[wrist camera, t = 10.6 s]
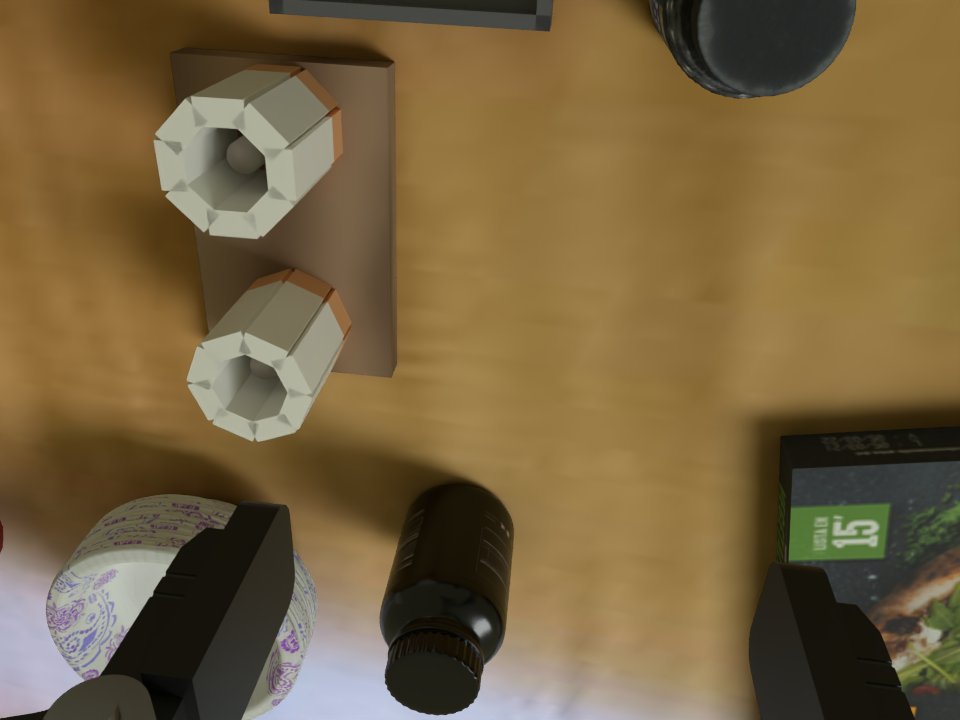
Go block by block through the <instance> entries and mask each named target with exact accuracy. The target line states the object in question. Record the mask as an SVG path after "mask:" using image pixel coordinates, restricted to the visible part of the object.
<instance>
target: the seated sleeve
mask: <svg viewBox="0 0 960 720" xmlns="http://www.w3.org/2000/svg"><path fill="white" fill-rule="evenodd" d="M331 287H332V285H329V284H327V283H325V282H323V281H321V280H319V279H317V278H314V277H312V276H310V275H308V274H306V273H304V272H302V271H300V270H297V269H295V271H294V272H293V271H292V269H287V270H284V271H281V272H278V273H275V274H271V275H268V276H265V277H262V278H259V279H257V280H256V281H255V282H253V284H252V285H251V286H250V287H249V288H248V289H247V290H246V292H245V293H244V294H243V295H242V296H241V297H240V298H239V300H238V301H237V302H236V303H235V304H234V305H233V306H232V307H231V309H230V310H229V311H228V312H227V313H226V314H225V315H224V317H223V318H222V319H221V320H220V321H219V322H218V323H217V325H216V326H215V327H214V328H213V329H212V330H211V331H210V332H209V334H208V335H207V336H206V337H205V338H204V339H203V340H202V342H201V343H200V344H199V345H198V346H197V349H196V352H195V355H194V358H193V361H192V364H191V368H190V371H189V374H188V377H187V381H189V384H188V385H187V386H188V387H189V389H190V391H191V392H192V394H193V396H194V397H195V399H196V401H197V402H198V404H199V406H200V407H201V409H202V411H203V412H204V414H205V416H206V417H207V419H208V420H212V419H214V422H213V424H214V425H216V426H218V427H220V428H223V429H225V430H227V431H230V432H232V433H234V434H236V435H239V436H241V437H243V438H246V439H248V440H250V441H252V442H253V440H254V438H256V440H257V441H258V442H260V441H264V440H268V439H272V438H276V437H280V436H284V435H288V434H292V433H295V432H296V430H297V429H298V430H299V428H300V427H301V425H302V423H303V421H304V419H305V417H306V416H307V414H308V412H309V410H310V408H311V407H312V405H313V403H314V401H315V399H316V397H317V396H318V394H319V392H320V390H321V388H322V386H323V385H324V383H325V381H326V379H327V377H328V375H329V374H330V372H331V370H332V368H333V366H334V365H335V363H336V361H337V359H338V357H339V355H340V353H341V351H342V348H343V346H344V344H345V341H346V339H347V337H348V335H349V332H350V330H351V328H352V327H351V326H350V325H351V323H352V322H351V320H350V318H349V316H348V314H347V312H346V310H345V308H344V306H343V304H342V301H341V299H340V297H339V295H338V293H337V291H336V289H335V290H332V291H330V290H331ZM252 358H254V359H256V360H258V361H260V362H262V363H265V364H267V365H269V366H271V367H274V369H275V370H276V372H277V374H278V375H277V376H276V377H275V378H273V379H270V380H265V379H261V378H259V377H257V376H256V375H255V374H254V373H253V372H252V370H251V367H250V361H251V359H252Z"/></svg>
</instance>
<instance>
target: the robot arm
mask: <svg viewBox="0 0 960 720" xmlns="http://www.w3.org/2000/svg"><path fill="white" fill-rule="evenodd" d="M294 583H295V565H294V554H293V544H292V533H291V523H290V513H289V509H288V507H287V506H286V505H281V504H272V503H263V502H254V501H245V500H244V501H241V502H240V503H239V504H238V506H237V507H236V509H235V510H234V512H233V514H232V516H231V517H230V519H229V521H228V522H227V524H226V526H225V528H224V529H217V528H208V527H206V528H205V529H204V530H202V531H201V532H200V533H199V534H197V535H196V536H195V537H194V538H192V539H191V540H190V541H188V542H187V543H186V544H185V545H183V546H182V547H181V548H180V550H179V551H178V553H177V555H176V556H175V558H174V559H173V561H172V563H171V564H170V566H169V567H168V569H167V570H166V575H165V577H162V578H161V580H160V582H159V583H158V585H157V586H156V588H155V589H154V591H153V596H152V597H149V599H148V601H147V602H146V604H145V605H144V607H143V608H142V610H141V612H140V613H139V615H138V616H137V618H136V620H135V621H134V623H133V624H132V626H131V627H130V629H129V631H128V632H127V634H126V635H125V637H124V639H123V640H122V642H121V643H120V645H119V647H118V648H117V650H116V651H115V653H114V654H113V656H112V658H111V659H110V661H109V662H108V664H107V666H106V667H105V669H104V670H103V671H102V673H101V674H100V676H99V677H95V678H92V679H89V680H86V681H84V682H82V683H79V684H78V685H76V686H74V687H73V688H71V689H69V690H68V691H67V692H65V693H64V694H63V695H62V696H60V697H59V698H58V699H57V700H56V701H55V702H54V703H53V705H52V706H51V707H50V708H49V709H48V710H45V711H41V712H36V713H32V714H25V715H19V716H13V717H7V718H0V720H242V717H243V715H244V713H245V710H246V708H247V706H248V703H249V701H250V698H251V696H252V694H253V691H254V689H255V687H256V684H257V682H258V680H259V677H260V675H261V672H262V670H263V668H264V665H265V663H266V661H267V658H268V656H269V654H270V651H271V649H272V647H273V644H274V642H275V639H276V637H277V635H278V632H279V630H280V628H281V625H282V623H283V621H284V618H285V616H286V614H287V611H288V609H289V606H290V603H291V599H292V595H293V590H294ZM749 662H750V668H751V673H752V678H753V683H754V687H755V692H756V697H757V702H758V706H759V711H760V716H761V720H915V717H914V715H913V712H912V710H911V707H910V705H909V702H908V700H907V697H906V695H905V692H902V685H901V682H900V680H899V677H898V675H897V672H896V670H895V668H894V667H892V660H891V657H890V655H889V652H888V650H887V647H886V645H885V642H884V640H883V637H882V635H881V632H880V631H879V630H878V629H877V628H876V627H875V625H874V624H873V623H872V622H871V621H870V620H869V619H868V617H867V616H866V615H865V614H864V613H863V612H862V611H861V609H860V608H859V607H858V606H857V605H855V604H847V603H838V602H837V601H836V599H835V596H834V593H833V590H832V587H831V585H830V582H829V579H828V576H827V574H826V572H825V570H824V569H823V568H821V567H814V566H805V565H797V564H788V563H779V562H773V563H772V564H771V566H770V568H769V570H768V573H767V576H766V580H765V583H764V586H763V589H762V593H761V596H760V599H759V603H758V606H757V609H756V613H755V616H754V619H753V623H752V626H751V630H750V637H749Z"/></svg>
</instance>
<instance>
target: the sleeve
mask: <svg viewBox="0 0 960 720" xmlns="http://www.w3.org/2000/svg"><path fill="white" fill-rule="evenodd" d="M337 105H338V103H337V102H336V101H335V99H334V98H333V97H332V96H331V95H330V94H329V93H328V92H327V91H326V90H325V89H324V88H323V87H322V86H321V85H320V84H319V82H318V81H317V80H316V79H315V78H314V77H313V76H312V75H311V74H310V73H309V72H308V71H307V70H304V71H302V72H301V67H299V66H283V65H267V64H256V65H254V66H251V67H249V68H247V69H245V70H243V71H241V72H239V73H237V74H235V75H233V76H230V77H228V78H226V79H224V80H222V81H220V82H218V83H216V84H214V85H212V86H210V87H208V88H206V89H204V90H202V91H200V92H198V93H196V94H194V95H191V96H189V97H187V98H185V99H184V101H183V102H182V103H181V104H180V105H179V106H178V108H177V109H176V110H175V111H174V112H173V113H172V115H171V116H170V117H169V118H168V119H167V121H166V122H165V123H164V124H163V125H162V126H161V128H160V129H159V130H158V131H157V132H156V133H155V134H156V135H157V136H158V138H156V139H155V140H154V146H155V152H156V158H157V164H158V170H159V176H160V183H161V189H162V190H164V191H169V192H168V194H167V195H166V196H165V197H166V198H167V199H169V200H170V201H171V202H172V203H173V204H174V205H175V206H176V207H177V208H178V209H179V210H180V211H181V212H182V213H184V214H185V215H186V216H187V217H188V218H189V219H190V220H191V221H192V222H193V223H194V224H195V225H196V226H197V227H199V228H200V229H201V230H202V231H203V232H205V231H206V230H207V229H208V228H209V233H210V235H214V236H226V237H239V238H251V239H258V238H259V237H260V236H262V237H264V236H265V235H266V234H267V233H268V232H269V231H270V230H271V229H272V228H273V227H274V226H275V225H276V224H277V223H278V222H279V221H280V220H281V219H282V218H283V217H284V216H285V215H286V214H287V213H288V212H289V211H290V210H291V209H292V208H293V207H294V206H295V205H296V204H297V203H298V202H299V201H300V200H301V199H302V198H303V197H304V196H305V195H306V193H307V192H308V191H309V190H310V189H311V188H312V187H313V186H314V185H315V184H316V183H317V182H318V181H319V180H320V179H321V178H322V177H323V176H324V175H325V174H326V173H327V172H328V171H329V170H330V169H331V168H332V167H333V166H334V165H335V163H336V162H337V161H338V160H339V159H340V158H341V157H340V155H341V154H342V153H343V145H342V123H341V109H334V108H335V107H336V106H337ZM243 135H244V136H245V137H246V138H247V139H248V140H249V141H250V142H251V143H252V144H253V145H254V146H255V147H256V148H257V149H258V150H259V151H260V152H261V153H262V154H263V155H264V156H265V162H266V163H264V164H263V165H262V166H261V167H259V168H258V169H257V170H256V171H255V172H253V173H251V174H241V173H238V172H236V171H235V170H234V169H233V168H232V167H231V166H230V165H229V163H228V161H227V156H226V153H227V149H228V147H229V145H230V144H231V143H233V142H234V141H236V140H237V139H239V138H240V137H242V136H243Z"/></svg>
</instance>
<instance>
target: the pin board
mask: <svg viewBox="0 0 960 720" xmlns="http://www.w3.org/2000/svg"><path fill="white" fill-rule="evenodd" d="M170 58H171V65H172V73H173V80H174V87H175V94H176V101H177V108H178V106H179V105H180V104H181V103H182V102H183V101H184V99H185V98H187V97H189V96H191V95H194V94H196V93H198V92H200V91H202V90H204V89H206V88H208V87H210V86H212V85H214V84H216V83H218V82H220V81H222V80H224V79H226V78H228V77H230V76H233V75H235V74H237V73H239V72H241V71H243V70H245V69H247V68H249V67H251V66H254V65H256V64H267V65H283V66H299V67H301V72H302V71H304V70H307V71H308V72H309V73H310V74H311V75H312V76H313V77H314V78H315V79H316V80H317V81H318V82H319V84H320V85H321V86H322V87H323V88H324V89H325V90H326V91H327V92H328V93H329V94H330V95H331V96H332V97H333V98H334V99H335V101H336V102H337V103H338V105H337V106H336V107H335V108H334V109H341V123H342V145H343V153H342V154H341V155H340V157H341V158H340V159H339V160H338V161H337V162H336V163H335V165H334V166H333V167H332V168H331V169H330V170H329V171H328V172H327V173H326V174H325V175H324V176H323V177H322V178H321V179H320V180H319V181H318V182H317V183H316V184H315V185H314V186H313V187H312V188H311V189H310V190H309V191H308V192H307V193H306V195H305V196H304V197H303V198H302V199H301V200H300V201H299V202H298V203H297V204H296V205H295V206H294V207H293V208H292V209H291V210H290V211H289V212H288V213H287V214H286V215H285V216H284V217H283V218H282V219H281V220H280V221H279V222H278V223H277V224H276V225H275V226H274V227H273V228H272V229H271V230H270V231H269V232H268V233H267V234H266V235H265V236H264V237H262V236H260V237H259V238H258V239H251V238H239V237H226V236H214V235H210V233H209V228H208V229H207V230H206V231H205V232H203V231H202V230H201V229H200V228H199V227H197V226H196V225H195V224H194V231H195V238H196V245H197V252H198V259H199V266H200V274H201V281H202V288H203V295H204V302H205V310H206V317H207V324H208V331H209V332H210V331H211V330H212V329H213V328H214V327H215V326H216V325H217V323H218V322H219V321H220V320H221V319H222V318H223V317H224V315H225V314H226V313H227V312H228V311H229V310H230V309H231V307H232V306H233V305H234V304H235V303H236V302H237V301H238V300H239V298H240V297H241V296H242V295H243V294H244V293H245V292H246V290H247V289H248V288H249V287H250V286H251V285H252V284H253V282H255V281H256V280H257V279H259V278H262V277H265V276H268V275H271V274H275V273H278V272H281V271H284V270H287V269H292V271H293V272H294V271H295V269H297V270H300V271H302V272H304V273H306V274H308V275H310V276H312V277H314V278H317V279H319V280H321V281H323V282H325V283H327V284H329V285H332V287H331V290H330V291H332V290H335V289H336V291H337V293H338V295H339V297H340V299H341V301H342V304H343V306H344V308H345V310H346V312H347V314H348V316H349V318H350V320H351V322H352V323H351V325H350V326H351V327H352V328H351V330H350V332H349V335H348V337H347V339H346V341H345V344H344V346H343V348H342V351H341V353H340V355H339V357H338V359H337V361H336V363H335V365H334V366H333V368H332V370H331V372H339V373H349V374H359V375H369V376H379V377H389V378H391V377H392V375H393V372H394V370H395V367H396V365H397V306H396V177H395V62H384V61H370V60H355V59H341V58H326V57H311V56H297V55H282V54H267V53H253V52H238V51H223V50H209V49H194V48H182V49H179V50H177V51H174V52H171V53H170ZM226 156H227V161H228V163H229V165H230V166H231V167H232V168H233V169H234V170H235V171H236V172H238V173H241V174H251V173H253V172H255V171H256V170H257V169H258V168H259V167H261V166H262V165H263V164H264V163H266V162H265V156H264V155H263V154H262V153H261V152H260V151H259V150H258V149H257V148H256V147H255V146H254V145H253V144H252V143H251V142H250V141H249V140H248V139H247V138H246V137H245V136H244V135H243V136H242V137H240V138H239V139H237V140H236V141H234V142H233V143H231V144H230V145H229V147H228V149H227V153H226ZM250 367H251V370H252V372H253V373H254V374H255V375H256V376H257V377H259V378H261V379H265V380H270V379H273V378H275V377H276V376H277V375H278V374H277V372H276V370H275V369H274V367H271V366H269V365H267V364H265V363H262V362H260V361H258V360H256V359H254V358H252V359H251V361H250Z"/></svg>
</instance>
